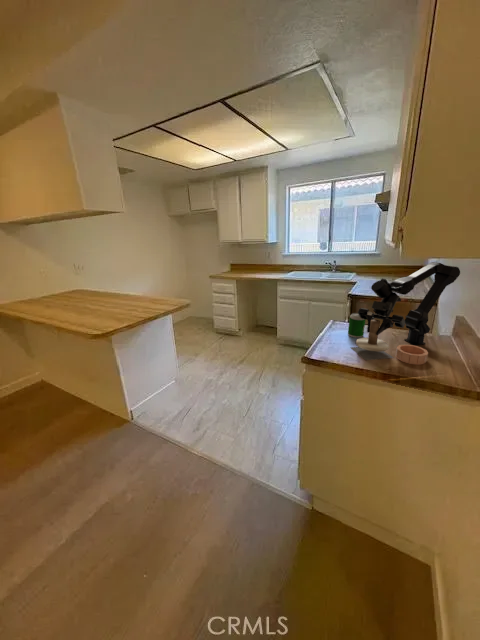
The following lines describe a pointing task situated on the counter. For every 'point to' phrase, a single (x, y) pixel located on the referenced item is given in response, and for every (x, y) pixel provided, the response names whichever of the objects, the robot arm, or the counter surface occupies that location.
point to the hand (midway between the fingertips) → (372, 333)
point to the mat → (371, 354)
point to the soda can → (356, 326)
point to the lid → (373, 339)
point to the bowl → (411, 354)
